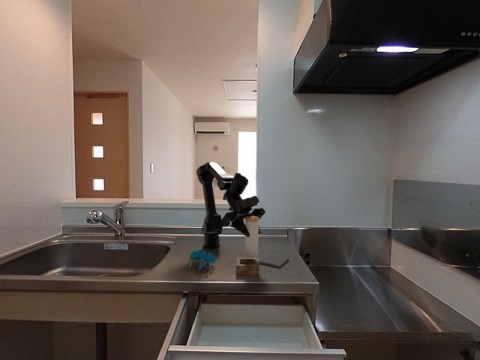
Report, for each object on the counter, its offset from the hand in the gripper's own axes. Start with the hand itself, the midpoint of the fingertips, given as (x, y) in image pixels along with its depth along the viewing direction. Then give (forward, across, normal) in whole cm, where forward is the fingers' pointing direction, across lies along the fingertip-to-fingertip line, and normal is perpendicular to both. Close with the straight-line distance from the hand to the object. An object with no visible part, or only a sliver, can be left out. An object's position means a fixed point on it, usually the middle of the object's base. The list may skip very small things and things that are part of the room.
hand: (254, 235), depth 103 cm
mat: (+8, +12, +11) cm, 18 cm away
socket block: (+9, -2, +10) cm, 13 cm away
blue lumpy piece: (-1, -13, +20) cm, 24 cm away
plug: (+4, 0, +6) cm, 8 cm away
